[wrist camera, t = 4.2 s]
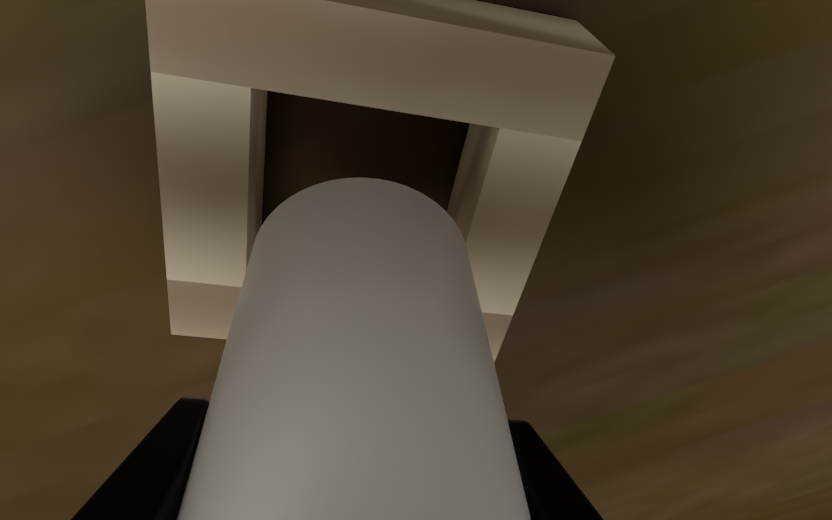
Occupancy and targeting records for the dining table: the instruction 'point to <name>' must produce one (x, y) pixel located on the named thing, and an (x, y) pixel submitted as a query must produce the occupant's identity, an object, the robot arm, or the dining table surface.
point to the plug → (356, 372)
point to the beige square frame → (372, 87)
